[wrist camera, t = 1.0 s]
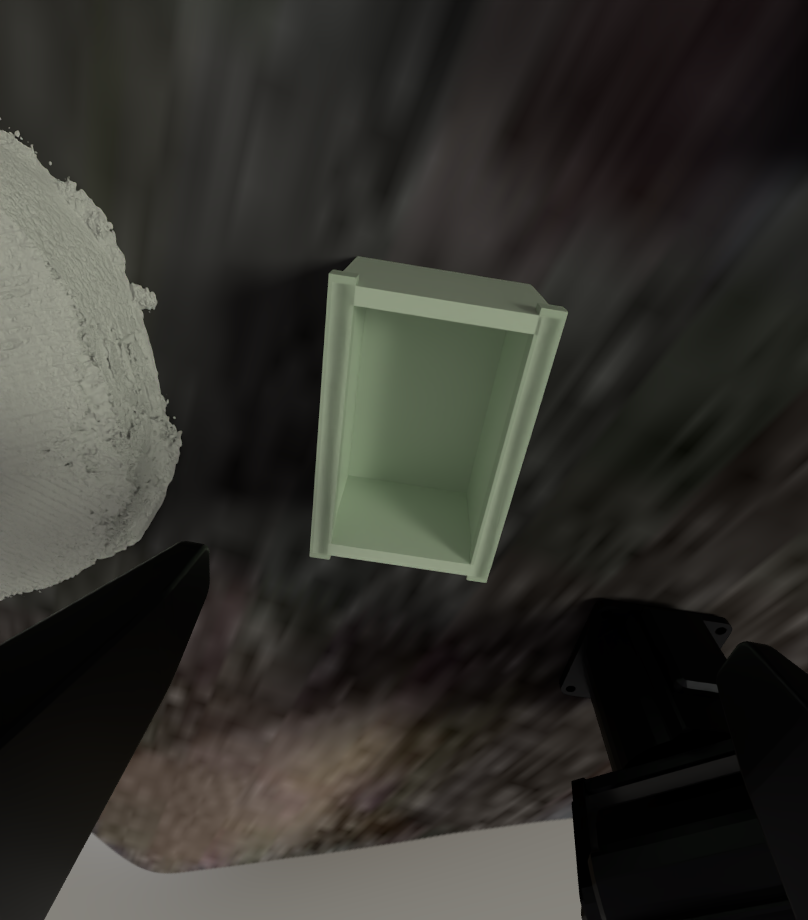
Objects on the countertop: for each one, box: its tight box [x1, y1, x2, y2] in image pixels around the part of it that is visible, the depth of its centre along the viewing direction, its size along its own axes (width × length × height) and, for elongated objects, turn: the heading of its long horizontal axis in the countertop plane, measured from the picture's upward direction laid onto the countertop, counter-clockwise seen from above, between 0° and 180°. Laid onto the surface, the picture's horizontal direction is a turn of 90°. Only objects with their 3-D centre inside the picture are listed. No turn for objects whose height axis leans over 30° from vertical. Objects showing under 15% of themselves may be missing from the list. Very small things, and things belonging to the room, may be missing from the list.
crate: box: [310, 256, 568, 583], centre depth 17 cm, size 9×6×5 cm, turn 172°
